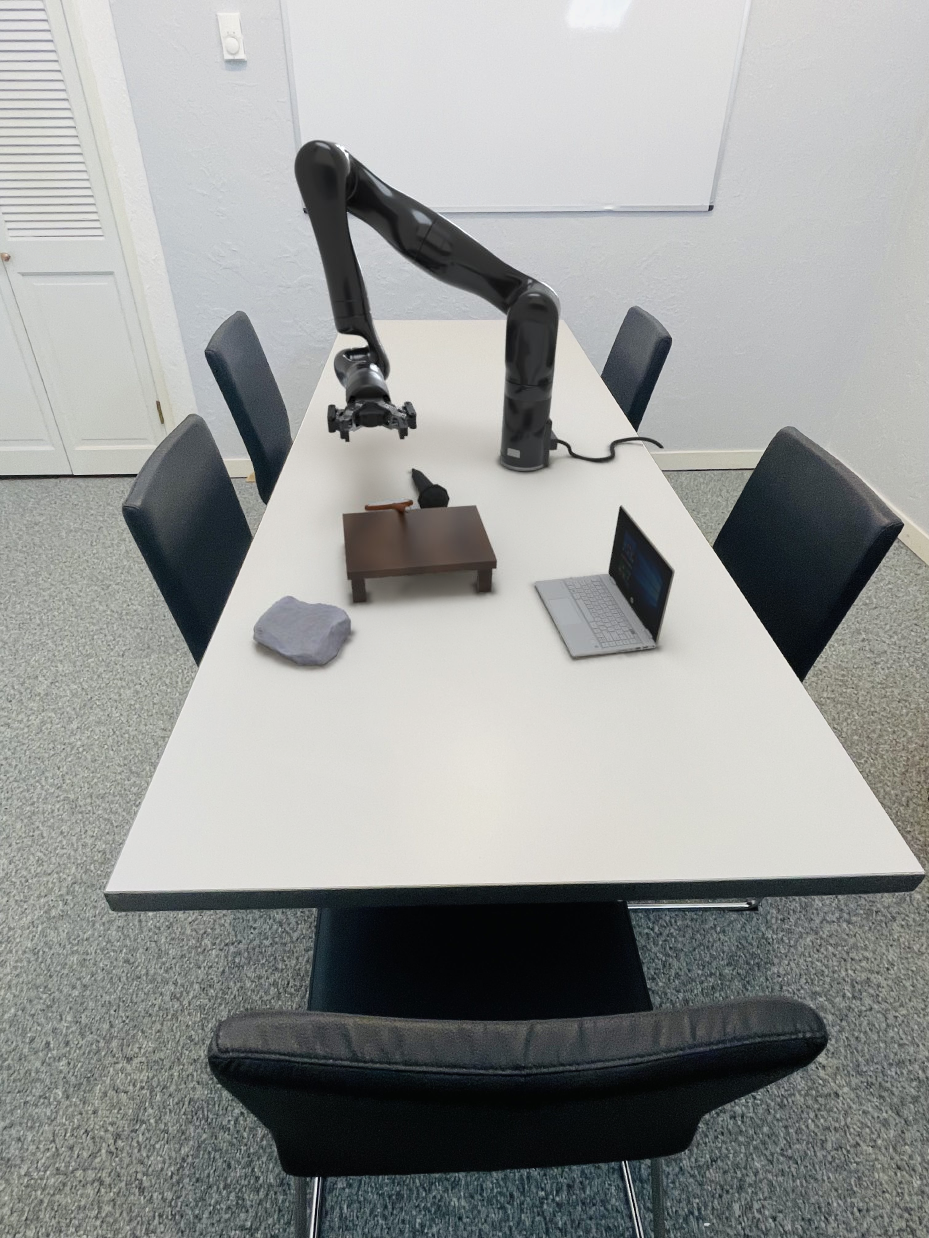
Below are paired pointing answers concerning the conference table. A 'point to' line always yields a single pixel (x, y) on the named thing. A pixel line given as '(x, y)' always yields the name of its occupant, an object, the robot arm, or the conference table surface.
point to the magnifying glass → (390, 505)
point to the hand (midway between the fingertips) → (374, 435)
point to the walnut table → (416, 545)
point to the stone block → (303, 630)
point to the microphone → (429, 492)
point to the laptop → (613, 597)
